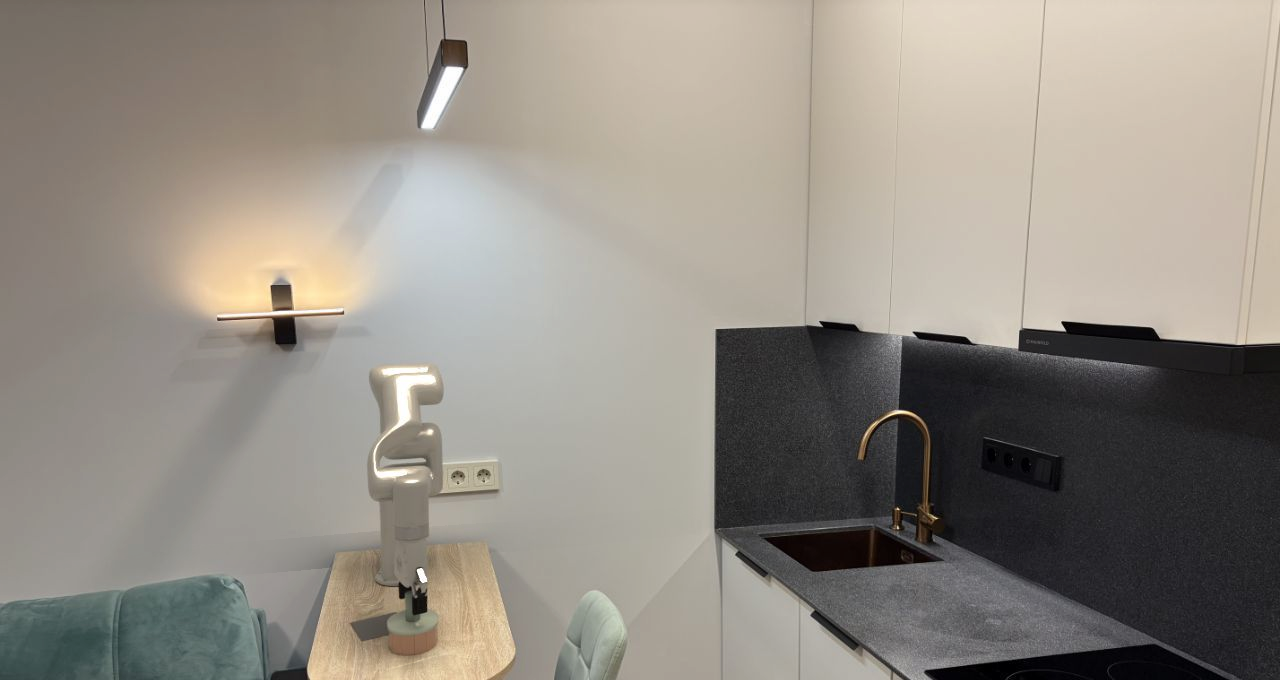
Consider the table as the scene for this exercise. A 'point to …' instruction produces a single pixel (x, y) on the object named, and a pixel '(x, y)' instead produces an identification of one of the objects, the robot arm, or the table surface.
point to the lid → (411, 620)
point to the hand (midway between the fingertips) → (412, 605)
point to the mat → (372, 627)
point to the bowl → (413, 643)
